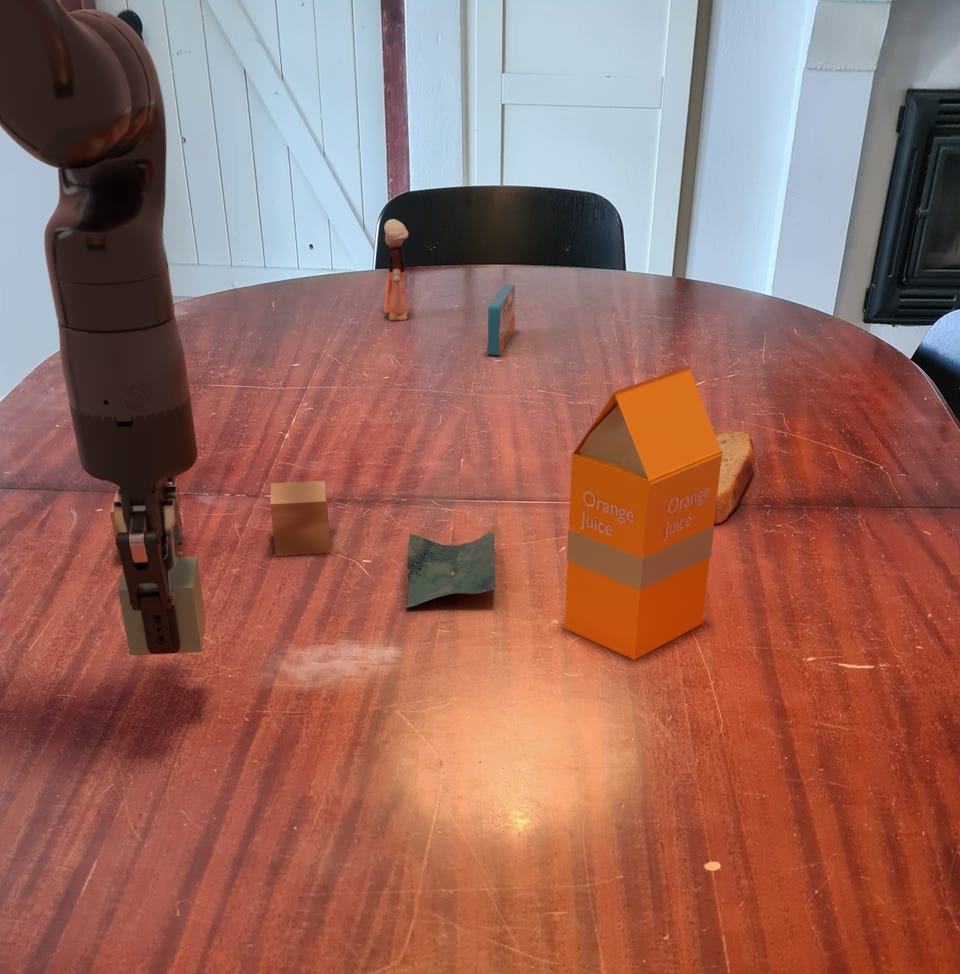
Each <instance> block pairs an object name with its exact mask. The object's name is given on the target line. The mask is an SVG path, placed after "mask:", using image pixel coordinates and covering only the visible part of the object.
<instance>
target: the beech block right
mask: <svg viewBox="0 0 960 974" xmlns="http://www.w3.org/2000/svg"><path fill="white" fill-rule="evenodd" d="M326 486H327V485H326V480H309V481H307V480H306V481H286V482H271V483H270V491H269V492H270V494H269V495H270V497H269V506H270V517H271V525H272V526H271V527H272V535H273V543H274V552H275V557H287V556H306V555H307V556H308V555H322V554H323V555H324V554H325V555H327V554H331V552H332V551H331V537H330V536H331V535H330V523H329V509H328V498H327V497H328V496H327V487H326Z"/></svg>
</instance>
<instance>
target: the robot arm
mask: <svg viewBox="0 0 960 974" xmlns="http://www.w3.org/2000/svg"><path fill="white" fill-rule="evenodd" d="M163 95H164V94H163V90H162V85H161V80H160V78H159V74H158V71H157V67H156V65H155V62H154V60H153V57H152V55H151V53H150V51H149V49H148V47H147V46H146V44H145V43H144V41H143V40H142V38H141V37H140V36H139V34H138V33H137V32H136V31H135V30H134V28H133V27H131V26H130V25H129V24H128V23H127V22H125V21H124V20H123V19H122V18H119V17H118V16H116V15H114V14H112V13H109V12H107V11H103V10H99V9H92V8H89V9H88V8H85V9H83V8H82V9H76V10H72V11H67V10H66V9H65V8H64V7H63V6H62V4H61V2H59V0H0V128H1V129H2V130H3V131H4V132H5V133H6V134H7V135H8V136H9V137H10V138H11V139H12V140H13V142H15V143H16V144H17V145H18V146H19V147H20V148H21V149H22V150H24V151H25V152H26V153H28V154H29V155H30V156H31V157H33V158H34V159H36V160H38V161H39V162H41V163H43V164H45V165H46V166H47V165H48V166H50V167H52V168H56V169H57V175H58V195H59V196H58V203H57V206H56V208H55V210H54V212H53V213H52V215H51V216H50V217H49V220H48V222H47V224H46V226H45V229H44V233H43V234H44V236H43V239H44V240H43V241H44V243H43V245H44V254H45V262H46V268H47V273H48V279H49V283H50V284H49V285H50V289H51V295H52V300H53V305H54V306H53V307H54V311H55V316H56V319H57V326H58V335H59V336H58V337H59V353H60V354H59V355H60V362H61V369H62V373H63V379H64V384H65V389H66V396H67V400H68V405H69V410H70V415H71V421H72V425H73V432H74V437H75V442H76V447H77V451H78V456H79V457H78V458H79V461H80V465H81V467H82V470H84V471H85V473H87V474H88V475H89V476H90V477H92V478H94V479H97V480H98V481H102V482H104V481H107V482H110V483H112V484H113V485H116V487H117V491H118V500H119V501H114V502H113V501H112V504H113V510H114V519H115V525H116V526H117V527H118V528H119V530H120V532H118V533H117V538H116V540H115V546H116V547H117V546H118V550H119V554H120V558H121V563H122V565H121V566H122V567H121V568H122V572H123V571H124V575H125V580H126V584H127V588H128V592H129V597H130V605H132V609H133V611H136V610H141V614H142V620H143V625H144V631H145V637H146V642H147V648H148V651H149V652H150V653H152V654H151V655H171V654H172V655H173V654H178V653H177V652H178V651H179V649H180V637H179V631H178V624H177V618H176V612H175V605H174V600H176V595H175V592H174V591H173V582H172V570H173V569H174V568H176V567H177V565H178V558H177V557H183V552H182V551H181V548H180V546H182V542H183V541H184V534H183V523H182V519H181V514H180V507H181V506H180V501H181V496H180V490H179V486H178V484H176V480H175V477H178V476H181V475H183V474H185V473H186V472H188V471H189V470H190V469H192V467H193V466H194V465H195V464H196V462H197V459H198V455H199V453H198V446H197V445H198V443H197V438H196V437H197V436H196V430H195V422H194V415H193V414H194V413H193V409H192V400H191V393H190V387H189V386H190V385H189V378H188V377H189V376H188V371H187V364H186V362H187V361H186V357H185V351H184V345H183V342H182V338H181V334H180V331H179V327H178V324H177V319H176V313H175V306H174V305H175V304H174V299H173V298H174V297H173V292H172V283H171V276H170V275H171V274H170V268H169V260H168V255H167V251H166V246H165V238H164V218H165V208H166V192H167V190H166V189H167V187H166V186H167V184H166V183H167V119H166V107H165V102H164V100H165V99H164V96H163ZM146 583H154V584H156V585H157V586H158V588H144V585H143V584H146Z"/></svg>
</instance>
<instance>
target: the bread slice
mask: <svg viewBox="0 0 960 974" xmlns="http://www.w3.org/2000/svg"><path fill="white" fill-rule="evenodd" d="M715 436H716V438H717V441H718V444H719V446H720V449H721V450H723V451H722V454H723V455H722V460H721V468H720V476H719V485H718V493H717V502H716V510H715V518H714V525H718V524H721V523H723V522H724V521H726V520H727V519H728V517H729V515H731V514H732V512H733V511H734V510H735V509H737V507H738V504H739V502H740V501H741V499H742V495H743V493H744V492H745V489H746V487H747V485H748V483H749V481H750V479H751V477H752V474H753V471H754V468H755V465H756V460H757V457H756V452H755V446H754V443H753V439H752V436H751V434H750V432H749V430H747V429H744V430H734V431H732V432H723V433H720V434H715Z"/></svg>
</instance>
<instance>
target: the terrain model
mask: <svg viewBox="0 0 960 974" xmlns="http://www.w3.org/2000/svg"><path fill="white" fill-rule="evenodd" d="M495 552H496V550H495V532H494V531H492V532H489V533H486V534H484V535H483V536H481V537H479V538H478V539H475V540H473V541H469V542H465V543H464V542H463V543H461V544H458V545H452V544H442V543H440V542H439V543H438V542H436V541H432V540H430V539H428V538H426V537H424V536H420V535H418V534H414V533H409V537H408V543H407V565H408V586H407V587H408V588H407V601H406V608H411V607H415V606H418V605H420V604H423V603H426V602H428V601H431V600H434V599H437V598H440V597H444V596H449V595H453V594H469V595H475V594H481V593H486V592H488V591H492V590H494V589H496V588H497V585H496V554H495Z"/></svg>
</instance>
